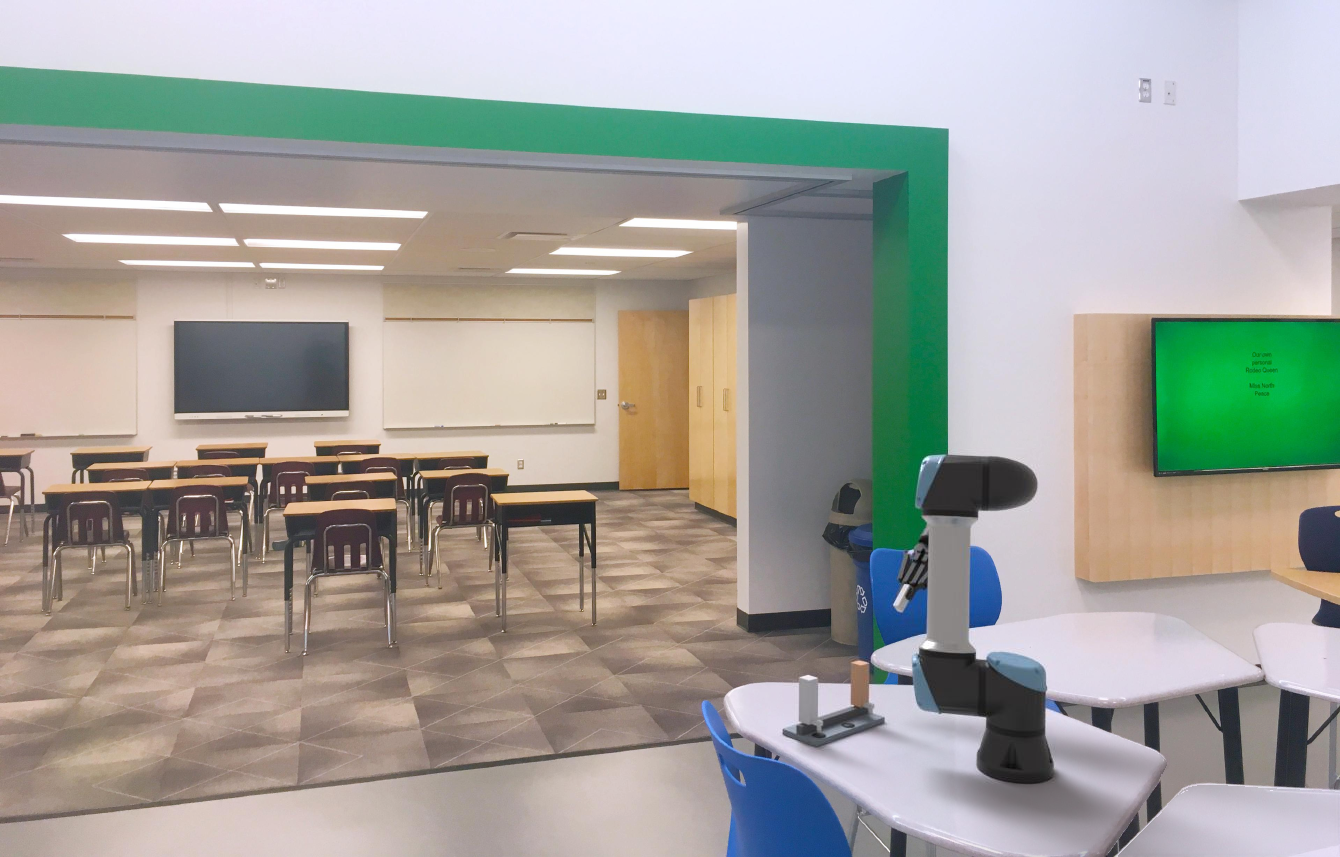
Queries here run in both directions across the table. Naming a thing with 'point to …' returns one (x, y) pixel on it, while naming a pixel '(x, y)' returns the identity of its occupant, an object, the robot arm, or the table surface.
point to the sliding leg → (860, 685)
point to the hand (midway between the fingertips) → (897, 608)
